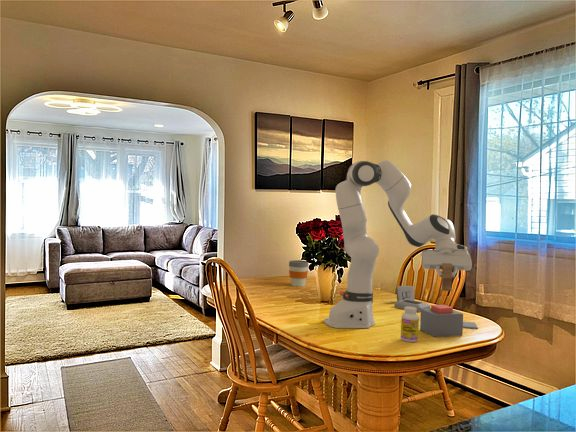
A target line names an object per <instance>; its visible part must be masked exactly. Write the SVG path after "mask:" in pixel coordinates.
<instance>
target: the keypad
mask: <svg viewBox="0 0 576 432" xmlns="http://www.w3.org/2000/svg"><path fill="white" fill-rule="evenodd" d="M407 306H410V307H416V308H417V311H416V313H421V309H429V308H431V305H430V304H429V303H426V302H423V301H416V300H415V301H413V300H407V299H404V300H401V301H397V300H396V302H395V303H394V308H398V309H401V310H404V308H405V307H407Z"/></svg>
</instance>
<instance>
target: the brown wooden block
mask: <svg viewBox="0 0 576 432" xmlns="http://www.w3.org/2000/svg"><path fill="white" fill-rule="evenodd" d="M441 271H442V272H443V277H441V290H442V291H443V292H444V291H445V292H446V291H447V292H452V289H453V288H452V285H453V283H452V282H453V277H452V272H453V270H452V264H448V263H442V269H441Z"/></svg>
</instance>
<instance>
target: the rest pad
mask: <svg viewBox="0 0 576 432" xmlns="http://www.w3.org/2000/svg"><path fill="white" fill-rule="evenodd" d="M463 329H472V330H473V329H474V330H475V329H476V330H478V329H479V327H478V325H477V323H476V322H472V321H463Z"/></svg>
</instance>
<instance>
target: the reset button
mask: <svg viewBox="0 0 576 432" xmlns="http://www.w3.org/2000/svg"><path fill="white" fill-rule="evenodd" d="M430 308H431V310H432V311H434V312H437V313H439V314H441V313H453V310H454V308H453V307H451V306H449V305H447V304H431V305H430Z"/></svg>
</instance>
